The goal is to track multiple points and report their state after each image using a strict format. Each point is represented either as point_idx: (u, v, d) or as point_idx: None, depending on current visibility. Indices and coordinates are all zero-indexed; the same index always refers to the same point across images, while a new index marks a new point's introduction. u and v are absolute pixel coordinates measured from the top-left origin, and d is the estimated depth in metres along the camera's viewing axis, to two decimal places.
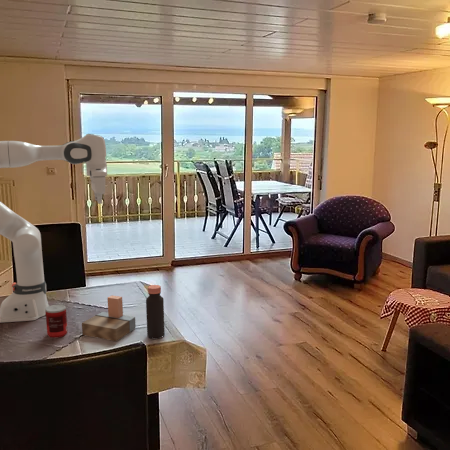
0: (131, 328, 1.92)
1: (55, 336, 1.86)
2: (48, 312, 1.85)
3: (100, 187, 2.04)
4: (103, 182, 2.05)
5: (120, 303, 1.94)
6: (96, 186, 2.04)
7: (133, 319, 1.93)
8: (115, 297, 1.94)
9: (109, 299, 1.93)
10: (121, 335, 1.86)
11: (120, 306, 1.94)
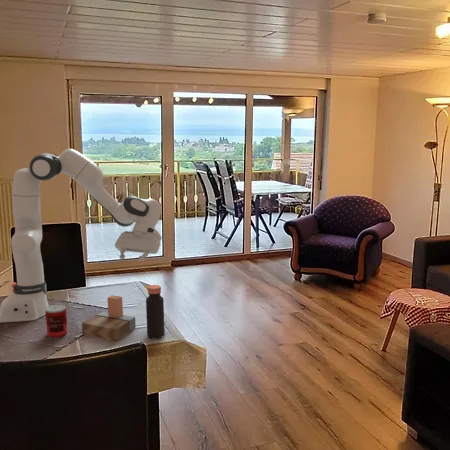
0: (131, 328, 1.92)
1: (55, 336, 1.86)
2: (48, 312, 1.85)
3: (157, 246, 2.03)
4: (159, 244, 2.05)
5: (120, 303, 1.94)
6: (156, 243, 2.02)
7: (133, 319, 1.93)
8: (115, 297, 1.94)
9: (109, 299, 1.93)
10: (121, 335, 1.86)
11: (120, 306, 1.94)
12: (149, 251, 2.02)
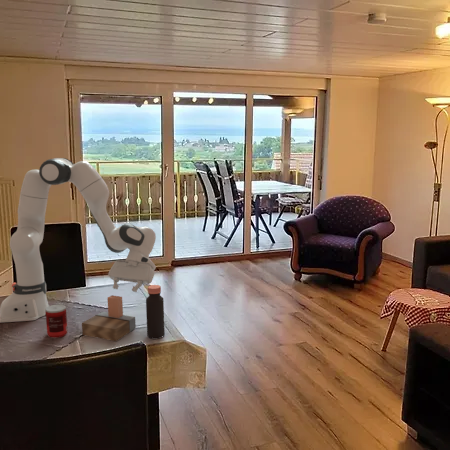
0: (131, 328, 1.92)
1: (55, 336, 1.86)
2: (48, 312, 1.85)
3: (151, 276, 2.00)
4: (153, 273, 2.02)
5: (120, 303, 1.94)
6: (149, 273, 1.99)
7: (133, 319, 1.93)
8: (115, 297, 1.94)
9: (109, 299, 1.93)
10: (121, 335, 1.86)
11: (120, 306, 1.94)
12: (143, 281, 1.99)
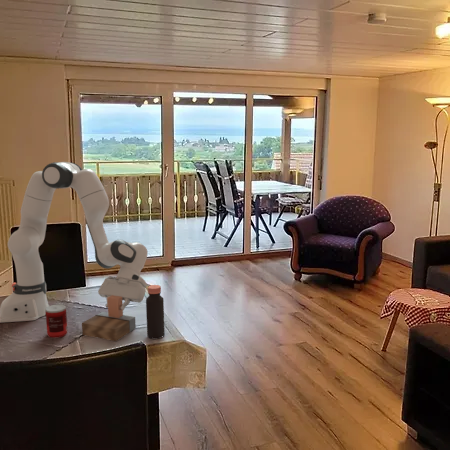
0: (131, 328, 1.92)
1: (55, 336, 1.86)
2: (48, 312, 1.85)
3: (142, 294, 1.94)
4: (144, 291, 1.97)
5: (120, 303, 1.94)
6: (140, 291, 1.93)
7: (133, 319, 1.93)
8: (115, 297, 1.94)
9: (109, 299, 1.93)
10: (121, 335, 1.86)
11: None
12: (133, 300, 1.94)
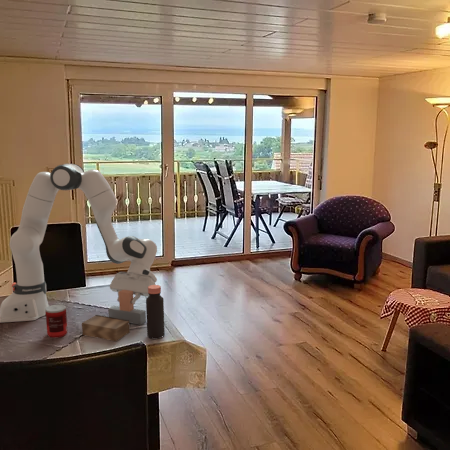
0: (142, 321, 1.99)
1: (55, 336, 1.86)
2: (48, 312, 1.85)
3: None
4: None
5: (131, 297, 2.01)
6: None
7: (143, 312, 2.00)
8: (126, 291, 2.01)
9: (120, 293, 2.00)
10: (121, 335, 1.86)
11: None
12: (144, 294, 2.01)
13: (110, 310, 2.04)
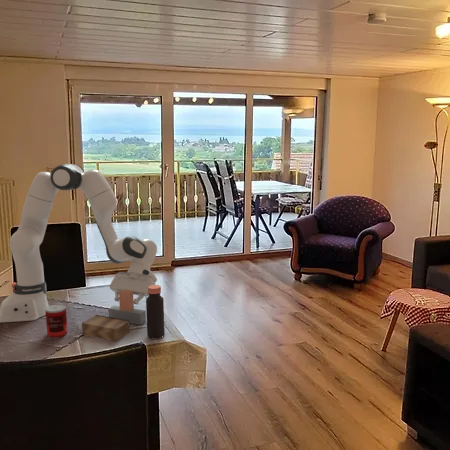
0: (142, 321, 1.99)
1: (55, 336, 1.86)
2: (48, 312, 1.85)
3: None
4: None
5: (131, 297, 2.01)
6: None
7: (144, 312, 2.00)
8: (126, 291, 2.01)
9: (120, 293, 2.00)
10: (121, 335, 1.86)
11: (131, 300, 2.01)
12: (144, 294, 2.01)
13: (110, 310, 2.04)
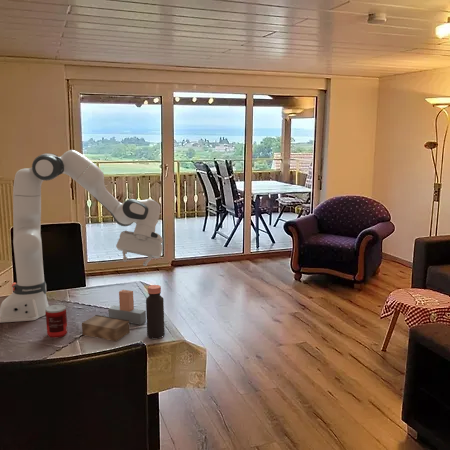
0: (142, 321, 1.99)
1: (55, 336, 1.86)
2: (48, 312, 1.85)
3: (160, 251, 2.11)
4: None
5: (131, 297, 2.01)
6: (160, 249, 2.10)
7: (144, 312, 2.00)
8: (126, 291, 2.01)
9: (120, 293, 2.00)
10: (121, 335, 1.86)
11: (131, 300, 2.01)
12: (153, 256, 2.10)
13: (110, 310, 2.04)
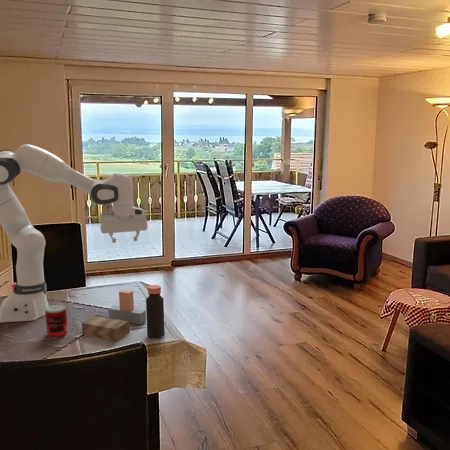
0: (142, 321, 1.99)
1: (55, 336, 1.86)
2: (48, 312, 1.85)
3: None
4: None
5: (131, 297, 2.01)
6: None
7: (144, 312, 2.00)
8: (126, 291, 2.01)
9: (120, 293, 2.00)
10: (121, 335, 1.86)
11: (131, 300, 2.01)
12: None
13: (110, 310, 2.04)
